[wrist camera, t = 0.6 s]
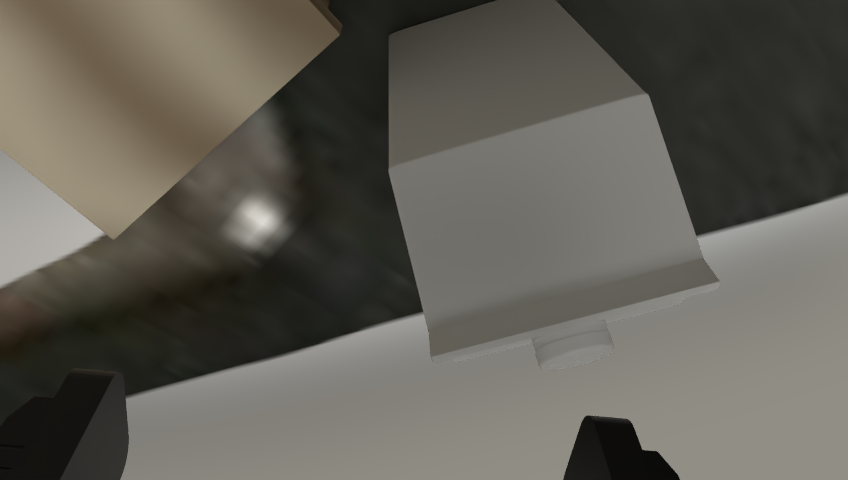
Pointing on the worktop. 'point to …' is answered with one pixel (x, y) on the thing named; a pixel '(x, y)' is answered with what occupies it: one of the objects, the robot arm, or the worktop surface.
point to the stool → (141, 88)
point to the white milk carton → (532, 186)
